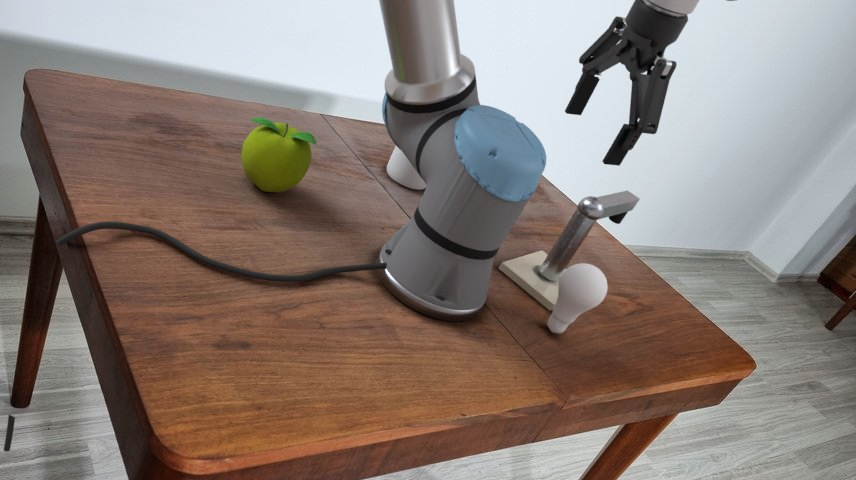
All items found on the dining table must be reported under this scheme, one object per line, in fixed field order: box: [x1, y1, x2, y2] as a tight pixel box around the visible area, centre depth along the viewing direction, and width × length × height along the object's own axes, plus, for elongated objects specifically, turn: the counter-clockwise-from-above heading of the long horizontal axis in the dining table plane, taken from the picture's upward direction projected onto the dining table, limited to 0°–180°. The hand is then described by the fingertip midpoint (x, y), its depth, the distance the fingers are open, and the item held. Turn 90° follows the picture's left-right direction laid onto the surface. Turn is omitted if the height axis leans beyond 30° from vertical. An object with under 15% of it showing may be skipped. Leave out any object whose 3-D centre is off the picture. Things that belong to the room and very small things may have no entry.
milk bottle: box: [386, 145, 427, 191], centre depth 114 cm, size 8×8×20 cm
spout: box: [539, 190, 640, 281], centre depth 107 cm, size 16×4×14 cm, turn 133°
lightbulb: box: [546, 262, 608, 334], centre depth 94 cm, size 6×6×11 cm
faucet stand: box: [498, 249, 567, 311], centre depth 107 cm, size 12×10×1 cm
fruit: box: [240, 116, 317, 193], centre depth 97 cm, size 9×9×10 cm
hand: (590, 137), depth 110 cm, fingers open, 13 cm apart
